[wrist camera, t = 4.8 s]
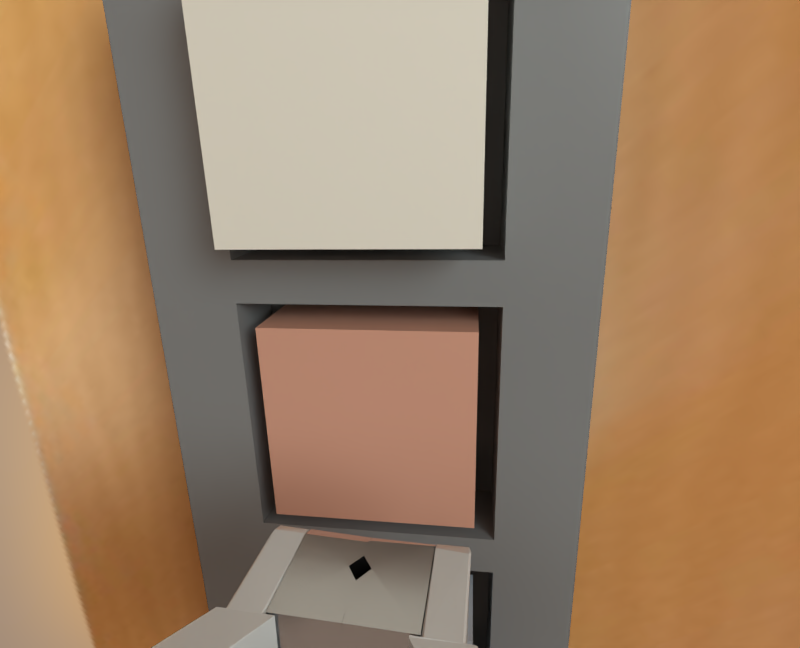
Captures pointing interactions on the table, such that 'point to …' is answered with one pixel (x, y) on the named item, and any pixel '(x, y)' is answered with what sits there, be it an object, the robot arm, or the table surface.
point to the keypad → (404, 304)
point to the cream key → (341, 121)
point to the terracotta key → (372, 411)
